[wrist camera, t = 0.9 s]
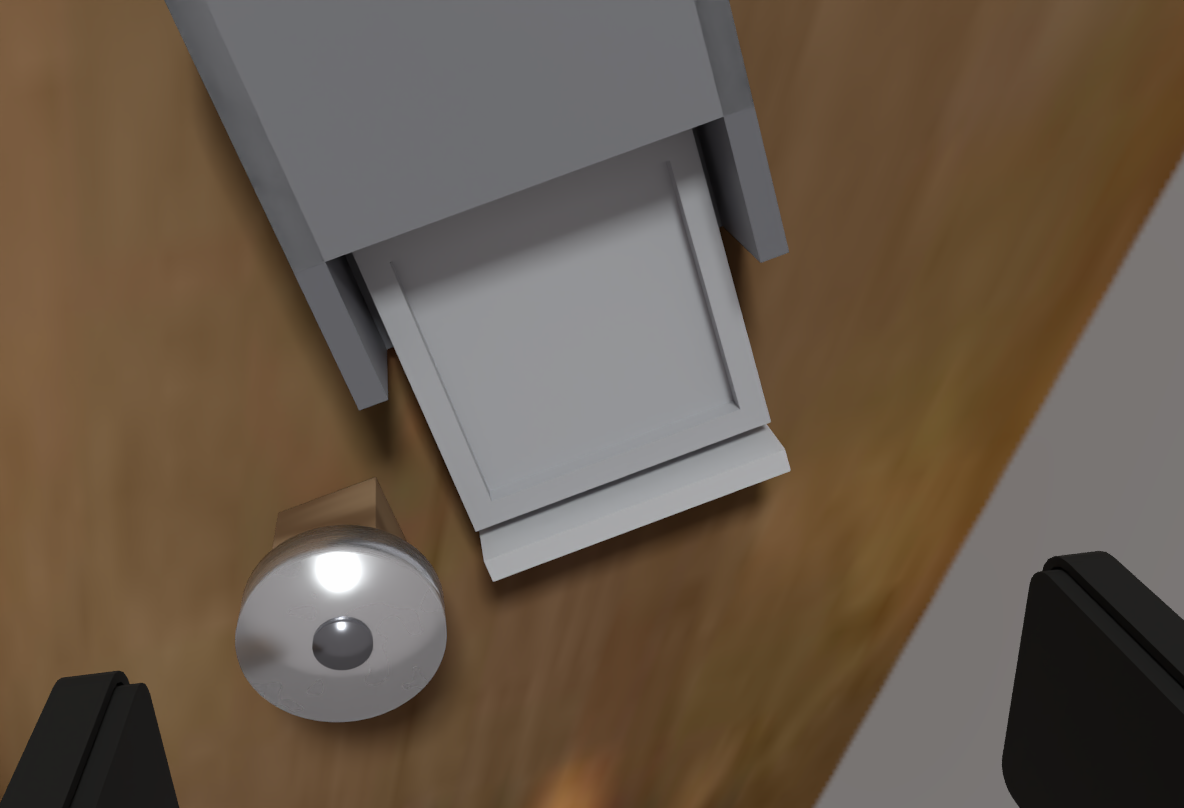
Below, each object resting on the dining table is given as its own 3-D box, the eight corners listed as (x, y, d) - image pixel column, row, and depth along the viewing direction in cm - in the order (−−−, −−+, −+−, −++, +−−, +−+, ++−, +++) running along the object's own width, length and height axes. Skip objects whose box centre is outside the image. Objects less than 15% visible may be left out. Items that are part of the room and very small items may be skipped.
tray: (489, 550, 43) (496, 589, 41) (350, 231, 37) (348, 256, 35) (769, 445, 44) (792, 479, 41) (678, 112, 37) (699, 128, 35)
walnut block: (320, 591, 44) (314, 670, 39) (278, 513, 42) (266, 586, 37) (414, 556, 44) (418, 632, 39) (375, 477, 42) (375, 546, 37)
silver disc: (293, 714, 40) (289, 754, 38) (205, 568, 37) (196, 604, 35) (471, 647, 40) (476, 684, 38) (399, 496, 37) (401, 528, 35)
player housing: (361, 352, 40) (359, 410, 35) (181, -39, 33) (150, -29, 29) (743, 212, 40) (789, 252, 36) (637, -202, 34) (676, -216, 29)
